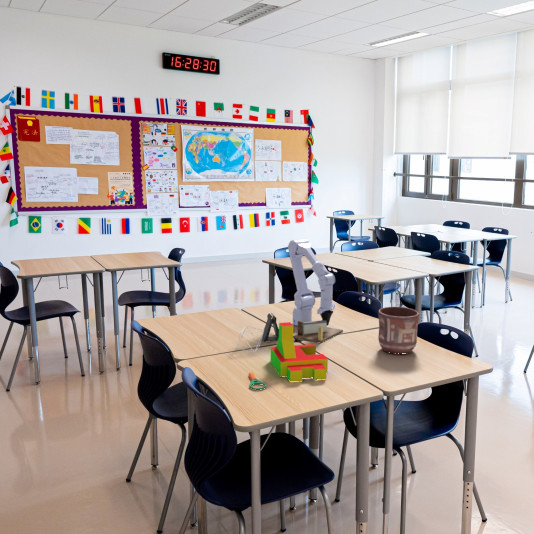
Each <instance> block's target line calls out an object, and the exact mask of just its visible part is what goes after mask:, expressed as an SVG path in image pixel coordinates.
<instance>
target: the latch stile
mask: <svg viewBox="0 0 534 534" xmlns="http://www.w3.org/2000/svg"><path fill="white" fill-rule="evenodd" d="M322 335H323V327H321V326H319V327H318V340H320V341H322Z"/></svg>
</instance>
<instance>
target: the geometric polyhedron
mask: <svg viewBox="0 0 534 534" xmlns="http://www.w3.org/2000/svg"><path fill="white" fill-rule="evenodd" d="M246 328H247V331H245V330H246ZM249 328H250V329H255V330H253V331H252V330H250V329H249ZM259 331H261V332H262V334H261V336H260V338H259V340H258V341H257V339H256V337H255V336H254V334H253V333H254V332H255V333H256V332H259ZM248 332H249V333H250V334H251V336H253V339H255V341H256V343H257V344H256V345H255V350H254V349H253V348H252V345H250V343H249V342H248V341H247V339H246V338H245V337H244V334H245V333H248ZM263 333H264V329H260V328H256V327H251V326H248V325H246V326H244V328H243V329H242V330H241V331H240V333H239V336H238V341H237V346H236V348H237V349H238V350H239V349H240V350H242V351H245V352H246V351H247V352H250V353H253V354H255V353H256V352H257V350H258V349H259V348H260V347H261V343H262V341H263V339H262V338H261V337H262V336H263ZM242 338H243V339H244V340H245V342H246V343H247V345H248V346H245V348H250V350H252V351H250V350H247V349H243V348H242V346H239V345H240V343H241V340H242Z"/></svg>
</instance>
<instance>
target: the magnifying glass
mask: <svg viewBox="0 0 534 534" xmlns="http://www.w3.org/2000/svg"><path fill="white" fill-rule="evenodd" d="M248 376H249V378H251V379H250V380H251V381H250V383H249V389H250V388H252V389H256V390H260V389H264V388H265V387H266V388H267V386H266V383H265V382H263V381H262V380H260V379H257V378H256V376H255V374H254V373H253V372H249V373H248ZM253 384H263V385H264V386H263V387H253V386H254V385H253ZM252 385H253V386H252ZM266 388H265V389H266ZM252 389H251V390H252ZM265 389H264V390H265ZM256 390H255V391H256ZM260 391H261V390H260Z"/></svg>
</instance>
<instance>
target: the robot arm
mask: <svg viewBox="0 0 534 534" xmlns="http://www.w3.org/2000/svg"><path fill="white" fill-rule="evenodd" d="M287 249H288V253H289V258H290V259H289V260H290V264H291V267H292V271H293V272H292V274H293V277H294V281H295V285H296V290H297V291H296V292H294V295H293V297H294V305H295V307H294V308H293V309H292V322H291V324H292V325H293V326H297V327H298V321H303V322H311V321H313V320H312V319H313V316H312V315H313V311H312V310H313V308H314V306H315V304H316V297H315V296H314V293H313V291H312V290H311V289H309V287H308V283H307V279H306V275H305V274H306V273H305V270H304V266H303V261H302V258H303V256H304V257H305V258H306V259H307V260H308V261H309V263H310V264H311V266H312V267H311V269H312V271H313V272H314V274H315V275H316V277H317V278H318V280H317V282H318V285H319V289H320V305H319V307H318V309H317V310H316V314H318V315H320V317H321V319H322V320H326V321H327V327H328V326H329V325H330V320H331V318H332V315H333V313H334V310H335V308H336V304H335V303H333V285H335V283H336V277H335V275H334V273H332V272H330V271H328V270H327V268H326V266H325V265H324V263H323V262H322V261H319V260H318V258H317V256H316V255H315V254H314V252H313V250H312V244H311V243H310V241H309V240H308V239H307V238H304V239H295V240H294V239H291V240H290V241H289V243H288V245H287Z"/></svg>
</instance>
